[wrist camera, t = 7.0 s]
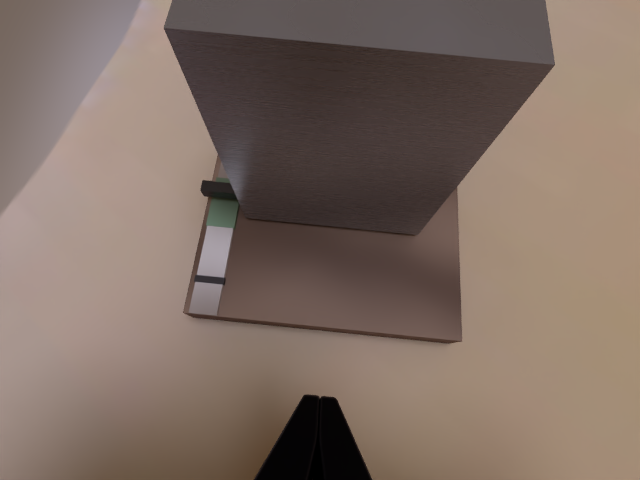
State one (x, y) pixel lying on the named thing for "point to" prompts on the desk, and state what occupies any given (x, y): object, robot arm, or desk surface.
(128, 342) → the desk surface
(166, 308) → the desk surface
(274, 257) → the stand
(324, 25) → the grey block
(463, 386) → the desk surface
